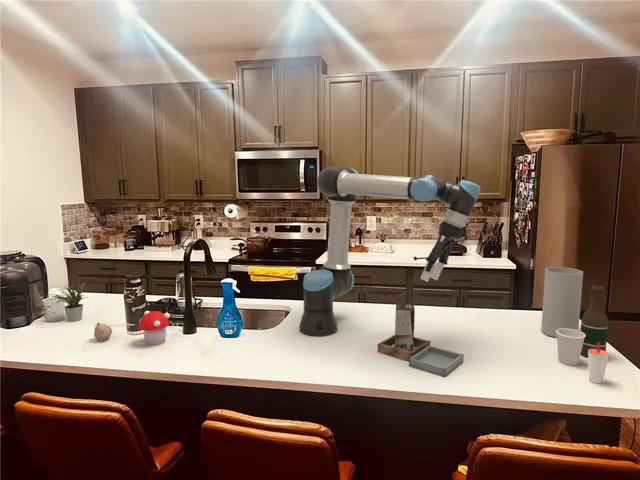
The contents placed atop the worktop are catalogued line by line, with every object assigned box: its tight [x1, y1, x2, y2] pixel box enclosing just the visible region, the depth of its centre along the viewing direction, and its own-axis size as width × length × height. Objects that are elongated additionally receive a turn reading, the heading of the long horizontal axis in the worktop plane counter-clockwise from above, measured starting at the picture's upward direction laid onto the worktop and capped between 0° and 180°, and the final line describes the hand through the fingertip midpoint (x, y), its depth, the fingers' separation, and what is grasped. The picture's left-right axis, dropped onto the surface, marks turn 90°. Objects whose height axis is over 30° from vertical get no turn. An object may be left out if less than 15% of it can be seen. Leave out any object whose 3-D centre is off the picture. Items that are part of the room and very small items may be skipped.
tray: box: [408, 345, 465, 378], centre depth 138 cm, size 12×14×2 cm
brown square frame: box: [377, 334, 431, 362], centre depth 149 cm, size 13×14×3 cm
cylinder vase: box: [540, 266, 584, 339], centre depth 163 cm, size 12×12×25 cm
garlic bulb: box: [93, 322, 113, 342], centre depth 161 cm, size 7×6×8 cm
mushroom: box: [138, 310, 171, 347], centre depth 157 cm, size 11×11×12 cm
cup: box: [587, 342, 610, 385], centre depth 125 cm, size 5×5×12 cm
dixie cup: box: [556, 328, 586, 367], centre depth 139 cm, size 8×8×10 cm
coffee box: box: [394, 302, 416, 352], centre depth 148 cm, size 9×6×16 cm
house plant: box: [51, 282, 89, 323], centre depth 185 cm, size 14×14×16 cm
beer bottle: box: [579, 285, 609, 359], centre depth 143 cm, size 8×8×24 cm
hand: (428, 279), depth 152 cm, fingers open, 13 cm apart
